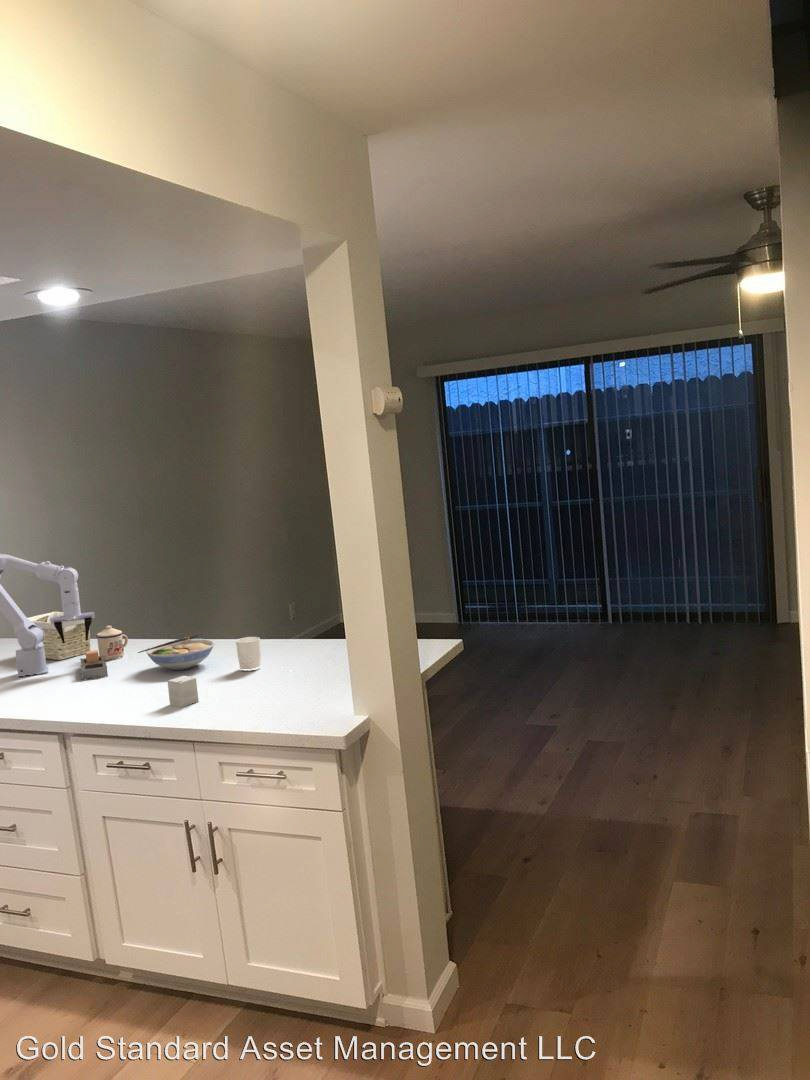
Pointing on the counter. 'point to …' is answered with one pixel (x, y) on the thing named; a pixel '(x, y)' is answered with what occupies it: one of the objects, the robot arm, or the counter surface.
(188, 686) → the skincare box
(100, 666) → the grey slotted board
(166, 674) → the counter surface
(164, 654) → the ramen bowl
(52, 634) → the storage basket
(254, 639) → the white cup
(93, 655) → the orange brown block
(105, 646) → the teacup with lid
